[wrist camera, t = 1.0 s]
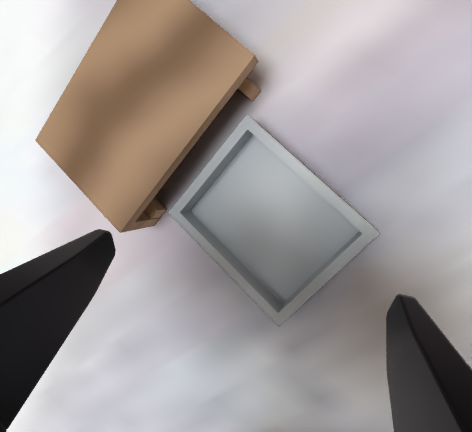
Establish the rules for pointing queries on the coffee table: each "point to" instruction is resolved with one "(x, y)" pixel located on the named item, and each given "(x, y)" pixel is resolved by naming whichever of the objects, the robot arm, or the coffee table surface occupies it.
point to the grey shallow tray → (270, 221)
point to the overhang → (143, 104)
